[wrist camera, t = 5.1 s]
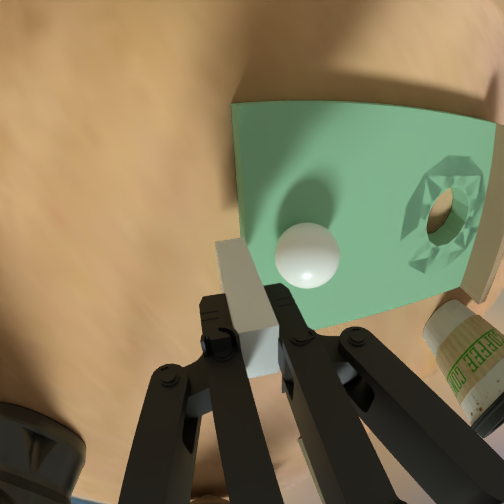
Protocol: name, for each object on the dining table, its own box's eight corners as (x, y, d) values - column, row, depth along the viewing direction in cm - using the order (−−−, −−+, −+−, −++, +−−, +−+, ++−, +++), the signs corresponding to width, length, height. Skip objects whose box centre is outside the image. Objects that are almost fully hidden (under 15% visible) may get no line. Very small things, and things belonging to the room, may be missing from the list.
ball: (268, 270, 19) (285, 307, 16) (266, 216, 17) (286, 247, 14) (322, 260, 20) (347, 294, 16) (325, 208, 18) (355, 236, 15)
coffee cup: (430, 291, 27) (521, 396, 15) (480, 281, 29) (558, 360, 17) (398, 358, 32) (461, 455, 19) (450, 341, 34) (509, 418, 22)
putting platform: (248, 324, 24) (263, 374, 19) (230, 103, 15) (249, 108, 11) (455, 273, 27) (484, 301, 23) (486, 119, 19) (529, 135, 15)
